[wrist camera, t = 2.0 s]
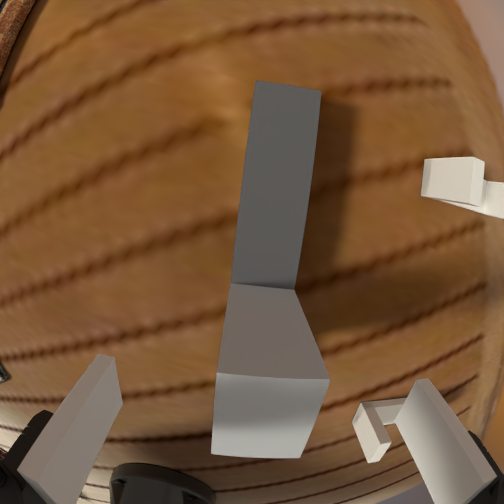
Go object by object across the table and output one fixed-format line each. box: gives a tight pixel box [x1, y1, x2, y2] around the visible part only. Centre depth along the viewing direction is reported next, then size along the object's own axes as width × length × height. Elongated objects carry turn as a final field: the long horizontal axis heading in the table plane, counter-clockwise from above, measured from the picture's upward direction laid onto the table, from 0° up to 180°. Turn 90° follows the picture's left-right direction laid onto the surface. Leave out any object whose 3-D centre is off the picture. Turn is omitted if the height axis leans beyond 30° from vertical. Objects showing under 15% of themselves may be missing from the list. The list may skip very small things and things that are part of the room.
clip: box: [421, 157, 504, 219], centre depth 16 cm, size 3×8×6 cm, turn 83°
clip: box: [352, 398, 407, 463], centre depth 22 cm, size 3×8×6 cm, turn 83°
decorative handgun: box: [0, 0, 36, 77], centre depth 12 cm, size 3×28×15 cm
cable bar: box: [211, 81, 331, 458], centre depth 16 cm, size 30×4×12 cm, turn 173°
